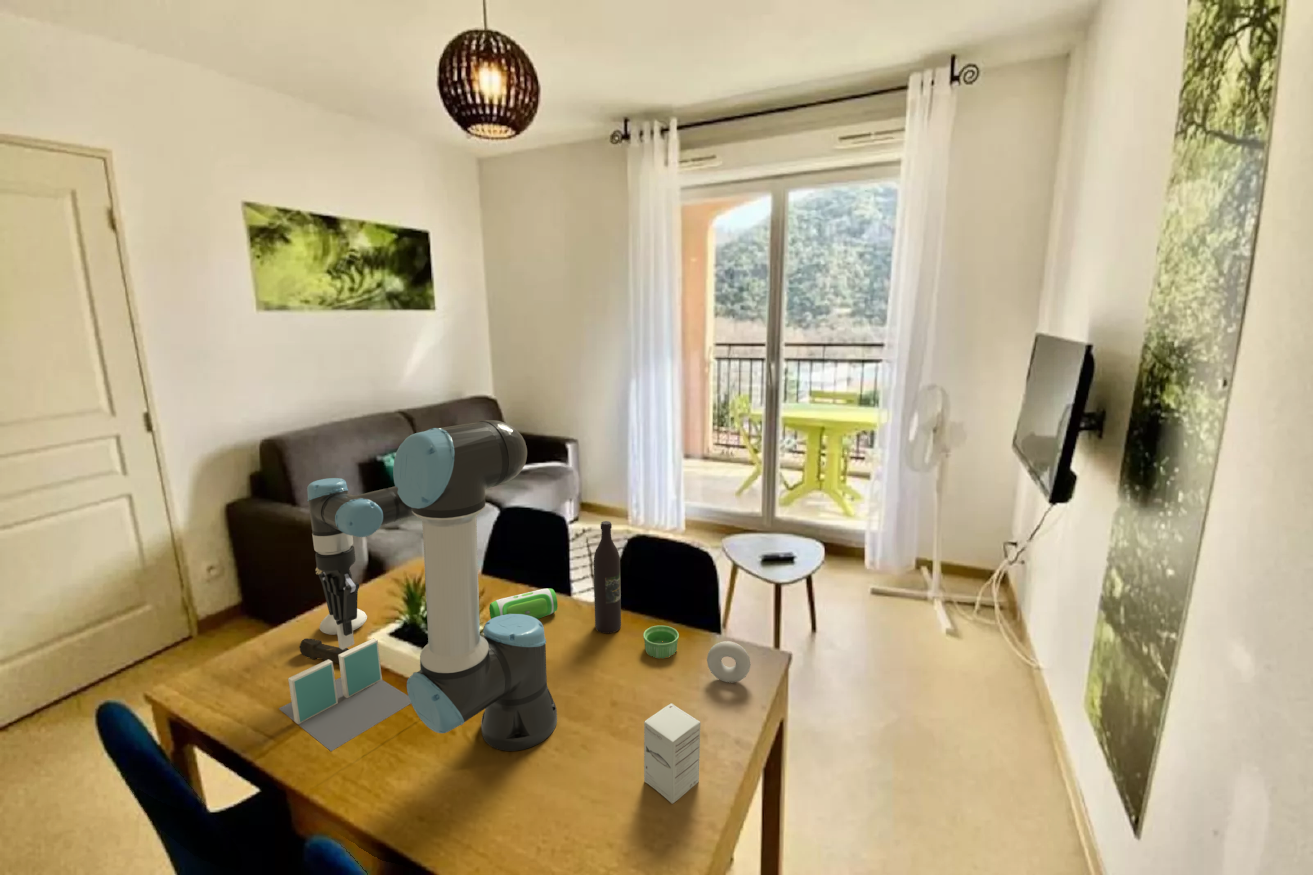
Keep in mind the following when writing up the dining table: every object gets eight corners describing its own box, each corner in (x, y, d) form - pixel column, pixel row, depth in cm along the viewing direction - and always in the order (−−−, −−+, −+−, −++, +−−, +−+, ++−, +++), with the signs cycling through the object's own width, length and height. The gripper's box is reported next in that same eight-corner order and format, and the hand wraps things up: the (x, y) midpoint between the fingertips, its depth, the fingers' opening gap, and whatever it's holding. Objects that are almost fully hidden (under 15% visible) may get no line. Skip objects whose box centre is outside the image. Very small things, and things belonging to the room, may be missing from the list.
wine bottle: (605, 637, 149) (603, 529, 143) (589, 626, 154) (587, 522, 148) (626, 627, 154) (624, 522, 148) (610, 617, 159) (608, 516, 153)
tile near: (338, 703, 122) (332, 661, 120) (298, 724, 116) (292, 681, 114) (334, 700, 123) (328, 659, 121) (294, 721, 117) (288, 678, 115)
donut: (705, 682, 130) (706, 643, 128) (707, 673, 134) (708, 635, 132) (749, 689, 128) (750, 649, 126) (750, 680, 131) (751, 640, 129)
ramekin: (636, 649, 144) (635, 633, 143) (662, 636, 150) (662, 621, 149) (659, 665, 137) (659, 648, 136) (686, 651, 143) (686, 635, 142)
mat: (416, 702, 123) (415, 700, 123) (331, 754, 109) (331, 751, 109) (361, 669, 136) (361, 666, 135) (278, 711, 121) (278, 708, 121)
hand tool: (368, 663, 138) (366, 645, 138) (355, 672, 135) (353, 654, 134) (311, 648, 145) (309, 632, 144) (296, 657, 141) (294, 640, 140)
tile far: (382, 679, 131) (378, 640, 129) (347, 698, 124) (342, 657, 122) (378, 677, 131) (373, 638, 130) (343, 695, 125) (338, 654, 123)
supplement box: (642, 782, 102) (642, 720, 100) (671, 760, 107) (671, 701, 105) (672, 806, 97) (672, 742, 94) (700, 782, 102) (701, 720, 100)
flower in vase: (329, 619, 159) (318, 534, 154) (373, 615, 161) (363, 532, 156) (310, 644, 146) (298, 553, 141) (358, 640, 148) (347, 550, 143)
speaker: (496, 634, 151) (494, 608, 150) (489, 622, 157) (488, 597, 156) (558, 617, 160) (557, 592, 158) (550, 606, 166) (549, 582, 164)
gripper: (367, 549, 124) (378, 647, 128) (336, 537, 131) (348, 630, 136) (332, 561, 118) (345, 663, 122) (302, 547, 125) (315, 644, 130)
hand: (346, 645), depth 129 cm, fingers closed
